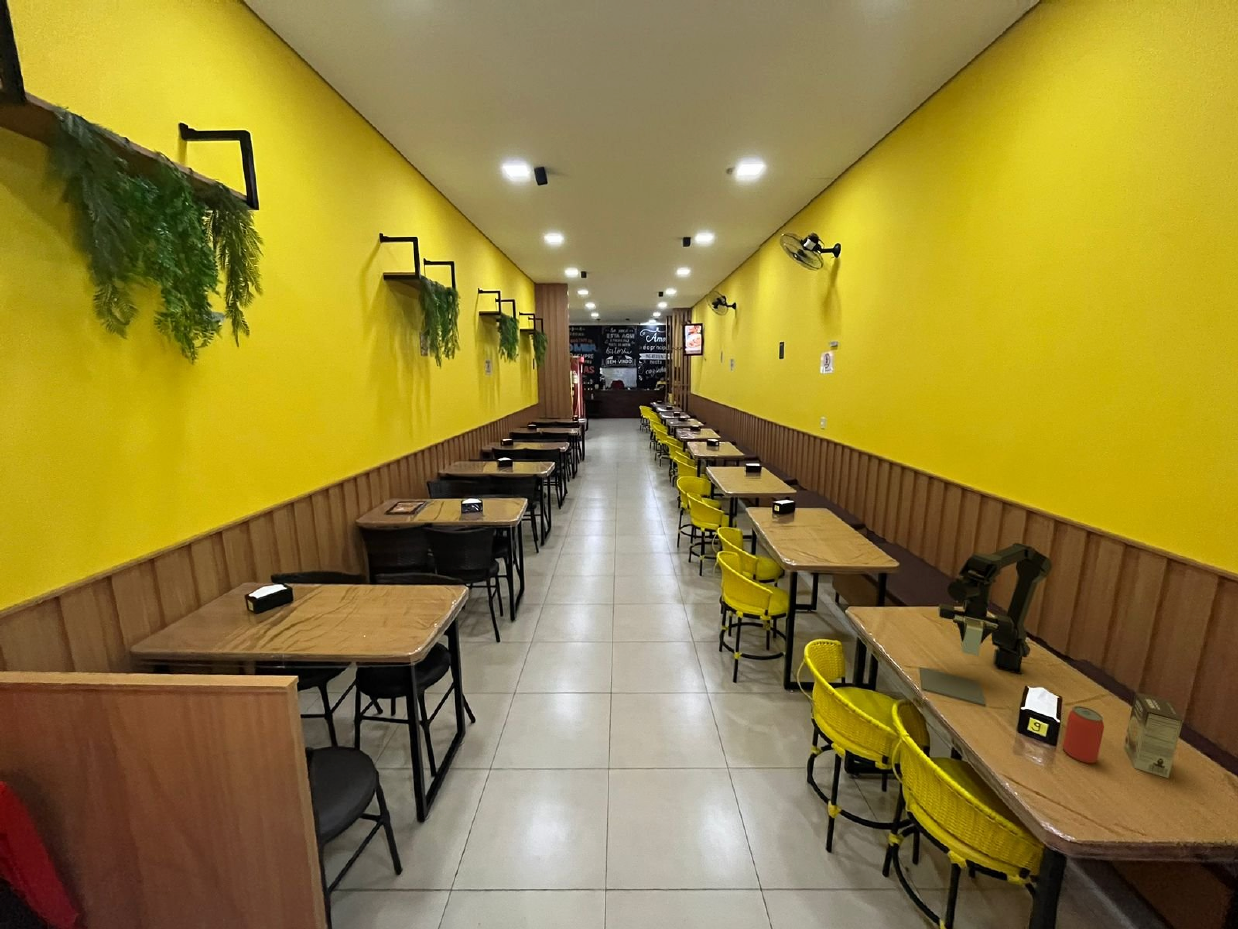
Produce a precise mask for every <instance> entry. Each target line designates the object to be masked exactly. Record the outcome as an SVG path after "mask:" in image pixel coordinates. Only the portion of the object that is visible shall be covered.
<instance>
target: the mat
mask: <svg viewBox="0 0 1238 929" xmlns="http://www.w3.org/2000/svg"><path fill="white" fill-rule="evenodd" d="M919 676H920V684H921V690H923V691H924V692H928V693H933V694H937V695H940V696H944V697H948V698H953V699H956V700H960V701H963V702H966V703H967V702H968V703H971V704H975V705H979V706H983V707H986V705H987V704H986V701H985V697H984V694H983V691H982V688H981V685H980V681H979V680H977V679H972V678H968V677H963V676H961V675H959V676H958V675H955V674H951V673H948V672H943V671H940V670H934V669H930V668H927V667H922V666H919Z"/></svg>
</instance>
